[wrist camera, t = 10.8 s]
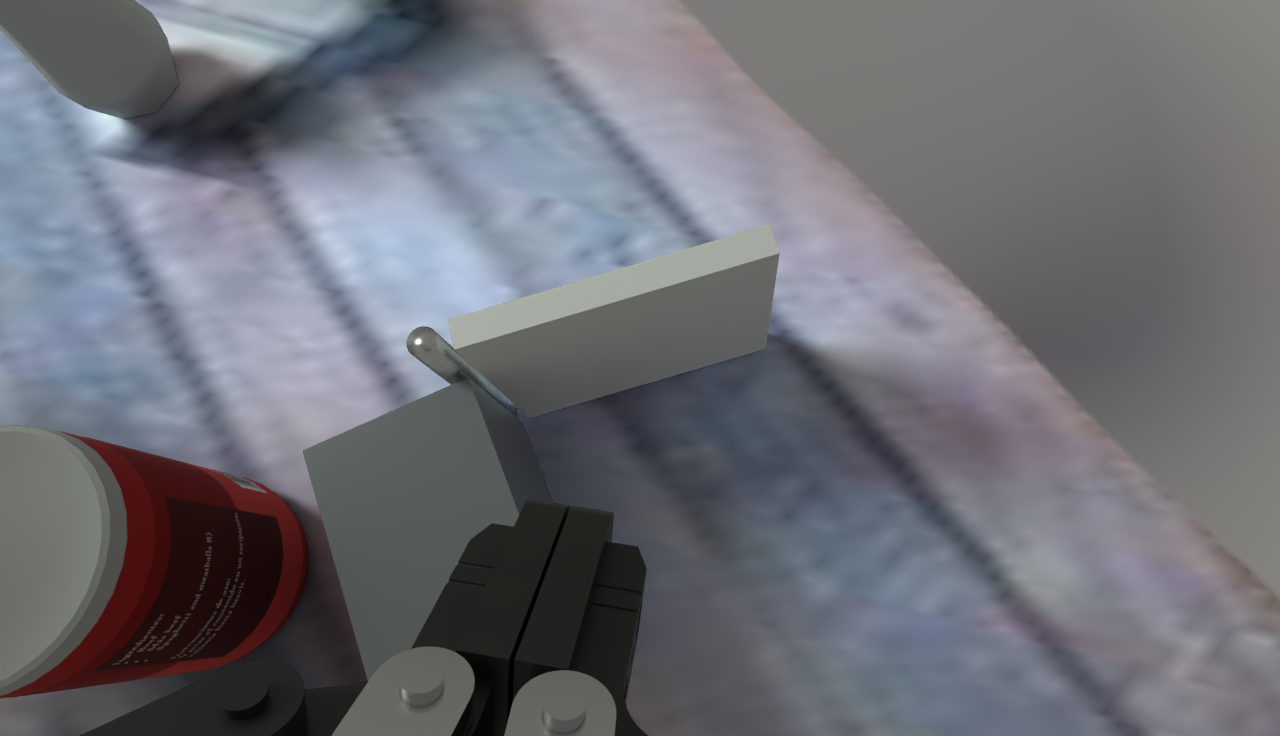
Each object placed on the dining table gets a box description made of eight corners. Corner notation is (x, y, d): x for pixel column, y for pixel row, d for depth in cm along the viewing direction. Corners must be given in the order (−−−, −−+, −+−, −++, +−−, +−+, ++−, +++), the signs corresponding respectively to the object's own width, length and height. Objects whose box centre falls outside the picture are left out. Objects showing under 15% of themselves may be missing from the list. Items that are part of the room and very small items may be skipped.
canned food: (117, 523, 33) (-167, 488, 22) (289, 448, 33) (85, 379, 23) (151, 702, 31) (-149, 756, 20) (336, 621, 31) (133, 632, 20)
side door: (529, 418, 32) (453, 349, 23) (520, 378, 32) (443, 296, 24) (765, 348, 32) (779, 253, 23) (752, 309, 32) (761, 202, 23)
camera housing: (382, 453, 32) (254, 399, 24) (512, 396, 33) (432, 321, 24) (474, 744, 29) (363, 807, 20) (620, 678, 29) (573, 713, 20)
